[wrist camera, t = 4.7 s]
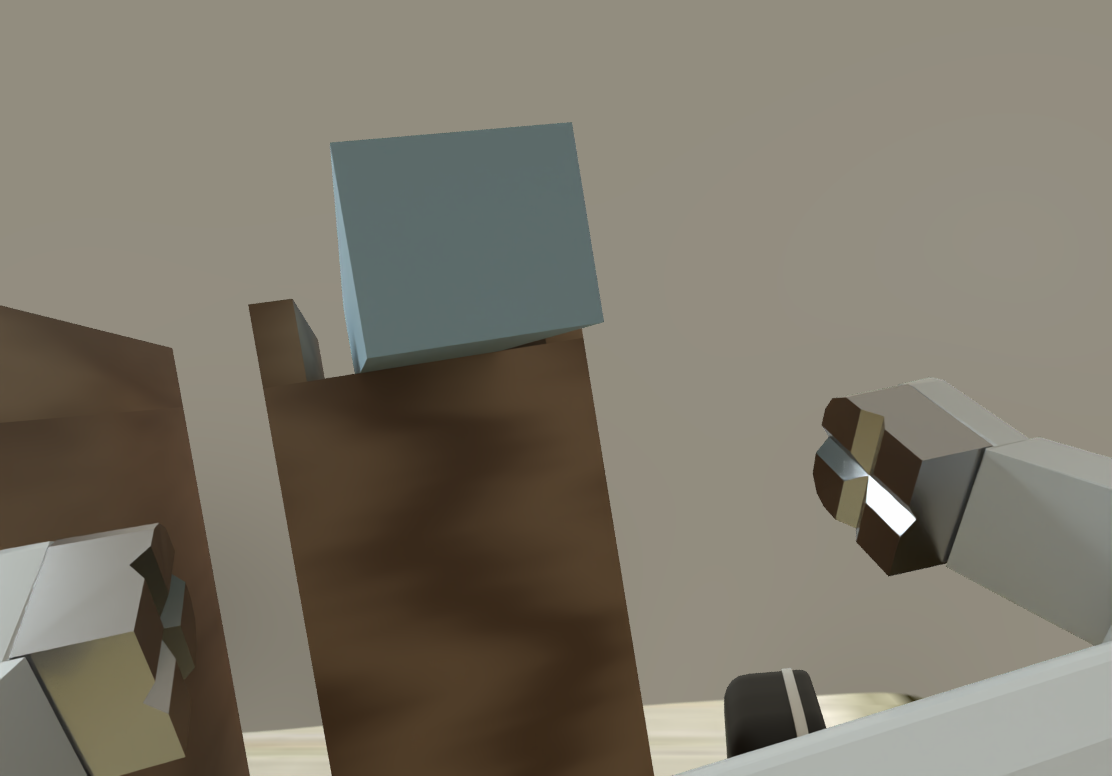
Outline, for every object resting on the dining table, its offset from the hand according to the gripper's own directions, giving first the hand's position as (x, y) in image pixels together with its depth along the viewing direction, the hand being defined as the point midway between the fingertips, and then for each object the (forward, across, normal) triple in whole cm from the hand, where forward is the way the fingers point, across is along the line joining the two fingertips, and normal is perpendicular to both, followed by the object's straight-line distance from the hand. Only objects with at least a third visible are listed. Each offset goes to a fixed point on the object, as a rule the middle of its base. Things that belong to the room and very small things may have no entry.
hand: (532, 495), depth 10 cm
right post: (+3, 0, +30) cm, 30 cm away
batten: (+12, 0, +5) cm, 13 cm away
